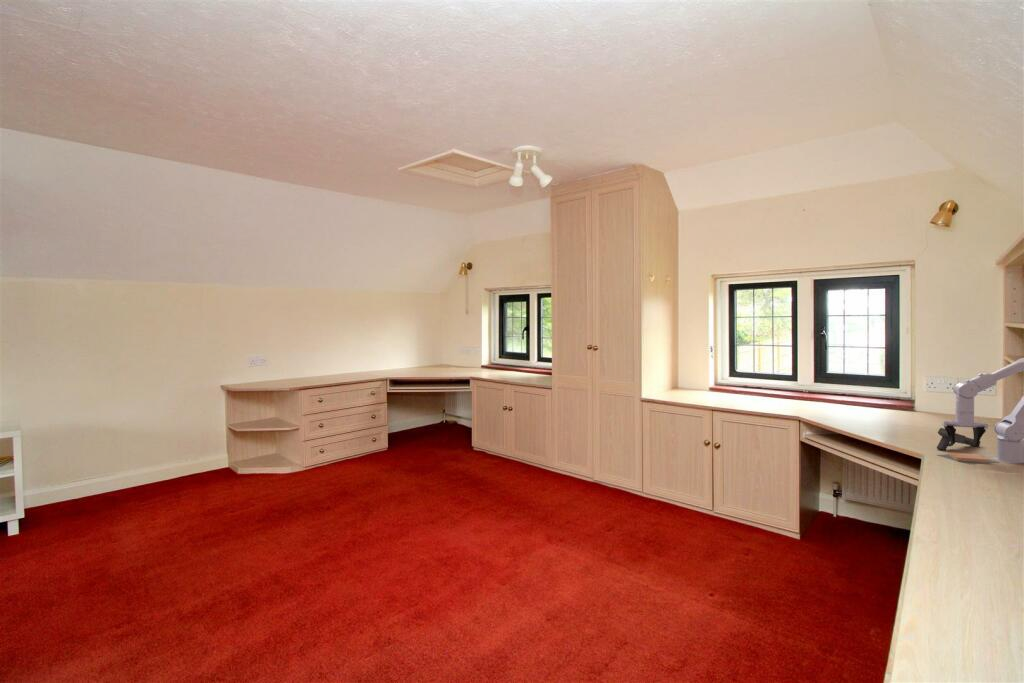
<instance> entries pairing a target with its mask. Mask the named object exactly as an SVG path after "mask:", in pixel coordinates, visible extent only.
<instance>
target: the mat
mask: <svg viewBox="0 0 1024 683" xmlns="http://www.w3.org/2000/svg"><path fill="white" fill-rule="evenodd" d="M965 454H967V453H965ZM936 456H938V457H941V458H944V459H948V460H951V461H954V462H958V463H962V464H967V465H981V464H986V463H978V462H964V461H956V460H954V459H953V458H951V457H950V456H949V453H947V454H946V453H944V454H936ZM987 459H988V458H987ZM996 463H997V464H998V463H1001V461H1000V462H999V461H997V460H994V459H990V458H989V459H988V463H987V464H996Z"/></svg>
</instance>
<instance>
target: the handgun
mask: <svg viewBox="0 0 1024 683" xmlns="http://www.w3.org/2000/svg"><path fill="white" fill-rule="evenodd" d="M937 434H938V436H941V439H940V440H939V442H938V444H937V446H936V449H937V450H939V451H947V449H948V447H953V446H954V444H951V443H950V438H949V435H948V433H947V431H946V429H945V428H944V427H943V428H942V427H940V428H939V429H938V431H937ZM973 440H974V438H971V437H967V436H966V435H964V434H963V435H962V434H959V433H957V432H955V443H956V444H957V443H958V444H962V445H966V446H967V445H968V446H971V447H977V448H980V445H981V440H980V441H979V444H978V446H976V445H974V443H973Z"/></svg>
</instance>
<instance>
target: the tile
mask: <svg viewBox="0 0 1024 683" xmlns="http://www.w3.org/2000/svg"><path fill="white" fill-rule="evenodd" d="M948 454H949V456H950V457H951V458H953V459H954V460H953V461H955V460H956V461H955V462H958V461H964V462H978V463H985V464H989V463H988V458H986V457H984V456H983V455H980V454H977V453H966V454H965V453H963V452H962V453H961V452H948Z"/></svg>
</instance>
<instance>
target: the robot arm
mask: <svg viewBox="0 0 1024 683" xmlns="http://www.w3.org/2000/svg"><path fill="white" fill-rule="evenodd" d="M1019 372H1022V373H1023V372H1024V357H1021V358H1018V359H1017V360H1015V361H1013V362H1012V363H1010V364H1008V365H1005V366H1004V367H1002V368H999V369H998V370H996V371H994V372H992V373H987V372H984V373H981V372H980V373H978V374H977V376H975V377H973V378H970V379H966V380H965V382H959V383H957V384H956V385H955V386H954V388H953V389H952V390H953V392H954V394H955V396H956V397H955V420H941V426H942V427H943V428H944V429H946V431H947V433H948V435H949V438H950V443H951V444H953V445H955V444H956V442H955V433H957V432H956V431H957V428H972V432H973V439H974V440H973V443H974V445H976V446H978V444H979V441H981V438H982V437H983V435H984V434H985V433H986V432H987V430H986V429H989V423H986V422H975V397H976V396H978V393H981V392H983V391H985V390H988V389H990V388H992V387H995V386H996V385H997V382H998V381H1000V380H1002V379H1005V378H1007V377H1010V376H1012V375H1015V374H1017V373H1019ZM955 427H957V428H955ZM993 431H994V432H995V433H996V434H997V435H996V436H997V437H996V457H990V460H994V461H998V462H999V461H1000V462H1003V463H1007V464H1024V440H1023V439H1024V395H1023V396H1022V397H1021V399H1019V401H1018V403H1017V404H1016V405H1015V407H1014V408H1013V409H1012V411H1011V413H1010V414H1008V415H1006V416H1004V417H1003V418H1002V419H1001V420H1000V421H998V422H997V423H995V424H994V426H993Z"/></svg>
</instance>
